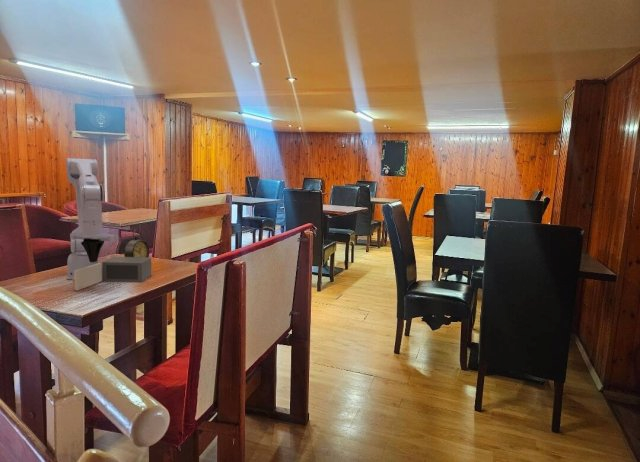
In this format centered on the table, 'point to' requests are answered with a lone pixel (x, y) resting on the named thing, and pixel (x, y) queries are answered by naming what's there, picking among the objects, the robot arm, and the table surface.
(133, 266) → the housing
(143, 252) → the alarm clock
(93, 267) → the door
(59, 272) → the table surface
